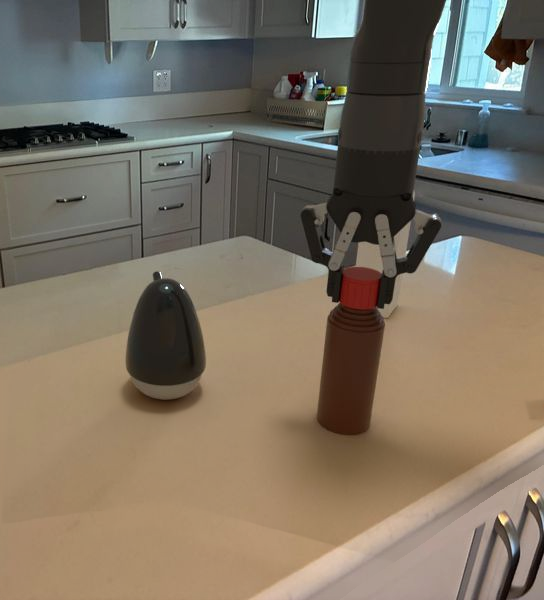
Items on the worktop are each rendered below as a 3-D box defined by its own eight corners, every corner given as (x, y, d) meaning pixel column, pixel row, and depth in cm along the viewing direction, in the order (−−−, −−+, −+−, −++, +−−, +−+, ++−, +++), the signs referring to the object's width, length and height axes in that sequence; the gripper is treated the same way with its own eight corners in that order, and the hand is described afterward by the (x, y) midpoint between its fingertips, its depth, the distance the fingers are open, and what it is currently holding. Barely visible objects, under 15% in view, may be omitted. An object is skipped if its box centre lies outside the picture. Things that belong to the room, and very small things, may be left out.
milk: (361, 298, 104) (378, 168, 96) (398, 305, 101) (419, 171, 92) (349, 310, 100) (365, 175, 91) (388, 319, 97) (408, 179, 88)
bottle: (371, 411, 74) (393, 271, 66) (367, 439, 69) (390, 292, 61) (320, 401, 76) (335, 265, 69) (312, 428, 71) (328, 284, 64)
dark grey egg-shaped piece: (194, 364, 85) (195, 261, 79) (214, 405, 76) (217, 292, 69) (121, 372, 84) (116, 267, 77) (133, 415, 74) (128, 300, 68)
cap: (379, 297, 67) (383, 269, 66) (377, 312, 64) (381, 282, 62) (340, 292, 69) (344, 264, 67) (336, 306, 65) (339, 277, 64)
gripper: (459, 137, 60) (429, 298, 67) (310, 132, 65) (297, 282, 72) (462, 151, 54) (429, 327, 61) (297, 144, 59) (284, 307, 66)
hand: (357, 302), depth 66 cm, fingers closed on cap, 4 cm apart
